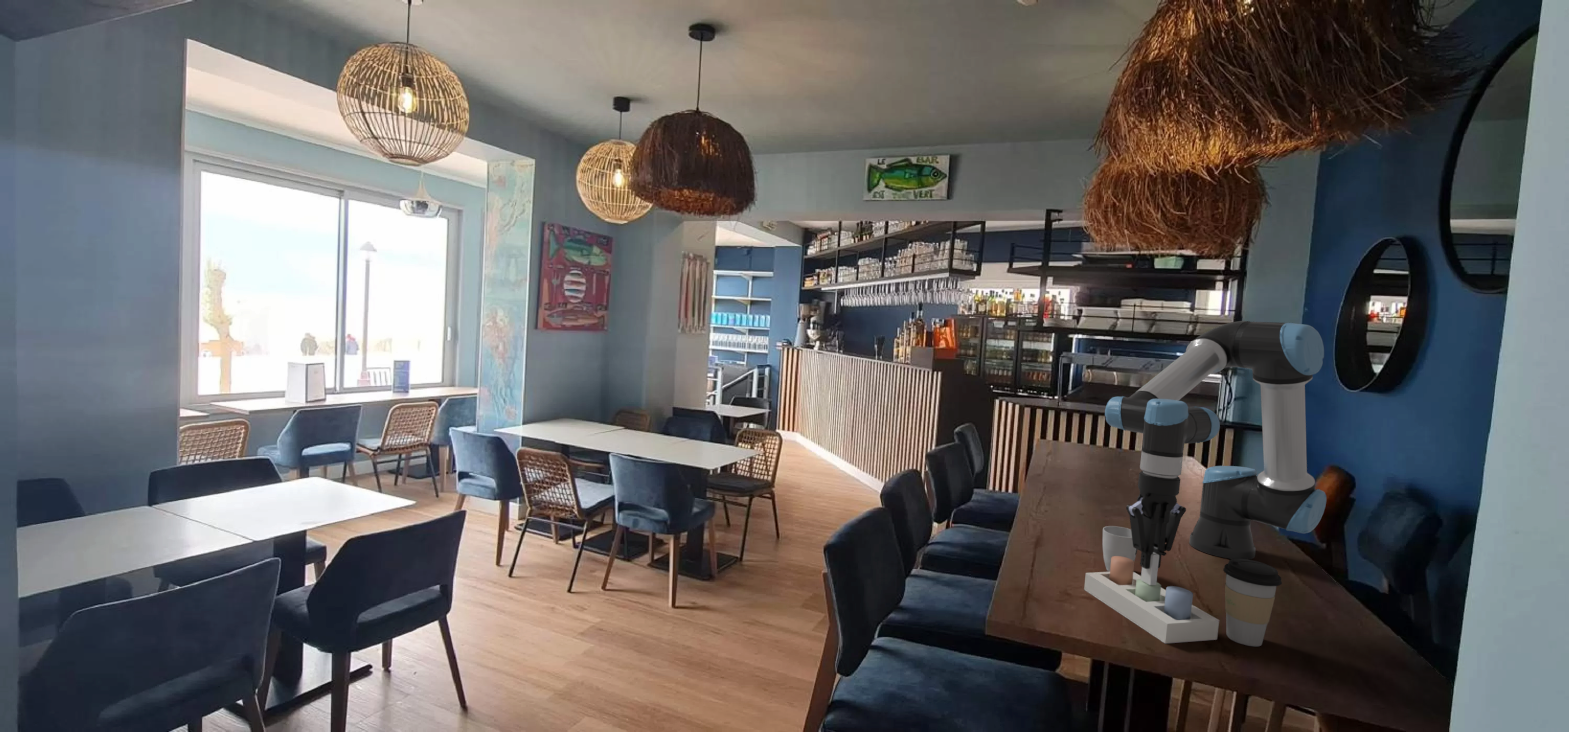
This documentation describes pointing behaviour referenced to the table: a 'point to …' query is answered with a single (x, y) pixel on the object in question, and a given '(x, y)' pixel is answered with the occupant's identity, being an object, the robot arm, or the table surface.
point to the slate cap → (1178, 603)
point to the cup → (1117, 544)
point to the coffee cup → (1249, 599)
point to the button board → (1151, 611)
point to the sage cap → (1147, 591)
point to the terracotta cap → (1121, 570)
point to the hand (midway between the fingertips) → (1148, 582)
